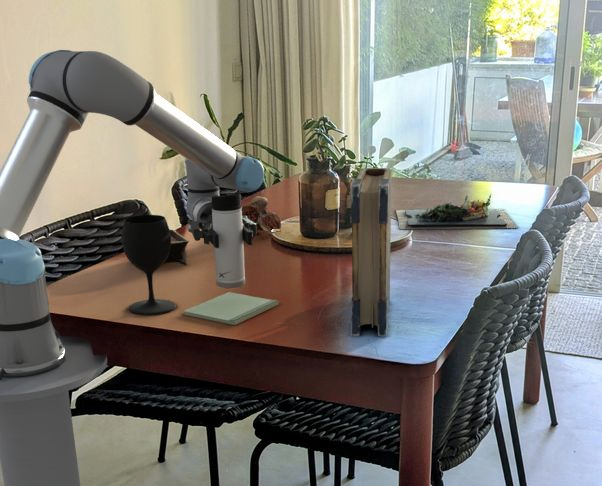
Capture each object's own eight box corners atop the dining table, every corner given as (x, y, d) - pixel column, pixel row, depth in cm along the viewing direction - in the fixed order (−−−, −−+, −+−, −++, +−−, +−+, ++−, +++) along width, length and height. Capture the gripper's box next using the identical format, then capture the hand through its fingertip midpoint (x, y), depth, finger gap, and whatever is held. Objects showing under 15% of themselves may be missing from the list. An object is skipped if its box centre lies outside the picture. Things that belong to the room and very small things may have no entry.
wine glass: (119, 312, 189) (110, 222, 182) (146, 298, 198) (138, 212, 191) (158, 317, 185) (151, 225, 178) (185, 303, 194) (178, 215, 187)
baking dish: (183, 259, 237) (176, 223, 235) (195, 265, 221) (188, 226, 218) (131, 269, 234) (124, 232, 231) (139, 275, 217) (131, 236, 215)
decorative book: (386, 336, 171) (388, 185, 160) (350, 335, 172) (350, 185, 161) (391, 300, 193) (393, 164, 182) (359, 299, 194) (359, 164, 183)
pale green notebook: (234, 325, 179) (234, 320, 179) (183, 314, 187) (183, 310, 186) (278, 304, 192) (278, 300, 191) (228, 295, 199) (228, 291, 199)
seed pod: (214, 217, 247) (260, 203, 241) (230, 194, 260) (274, 180, 254) (233, 256, 253) (278, 243, 247) (247, 232, 266) (291, 219, 260)
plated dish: (502, 208, 281) (503, 186, 278) (519, 229, 255) (520, 205, 252) (394, 211, 283) (394, 189, 280) (400, 232, 257) (400, 208, 254)
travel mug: (222, 290, 183) (217, 196, 176) (212, 282, 189) (206, 191, 182) (250, 286, 186) (245, 193, 178) (239, 278, 191) (234, 188, 184)
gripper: (253, 229, 203) (278, 253, 182) (172, 237, 198) (188, 262, 177) (252, 198, 200) (277, 218, 180) (169, 204, 196) (186, 226, 175)
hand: (233, 240), depth 179 cm, fingers closed on travel mug, 6 cm apart
